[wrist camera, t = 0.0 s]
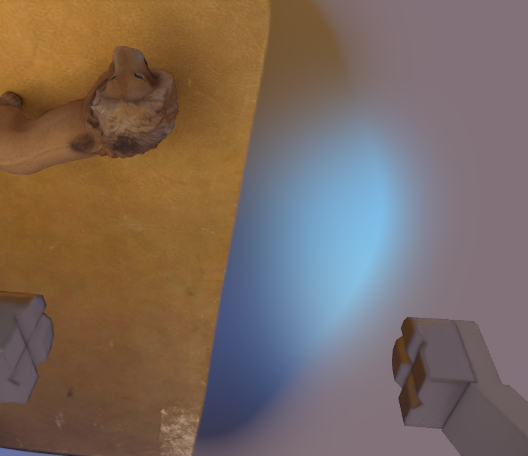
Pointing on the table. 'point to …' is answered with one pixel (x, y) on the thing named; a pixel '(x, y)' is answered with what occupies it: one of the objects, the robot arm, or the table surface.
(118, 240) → the table surface
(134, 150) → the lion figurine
